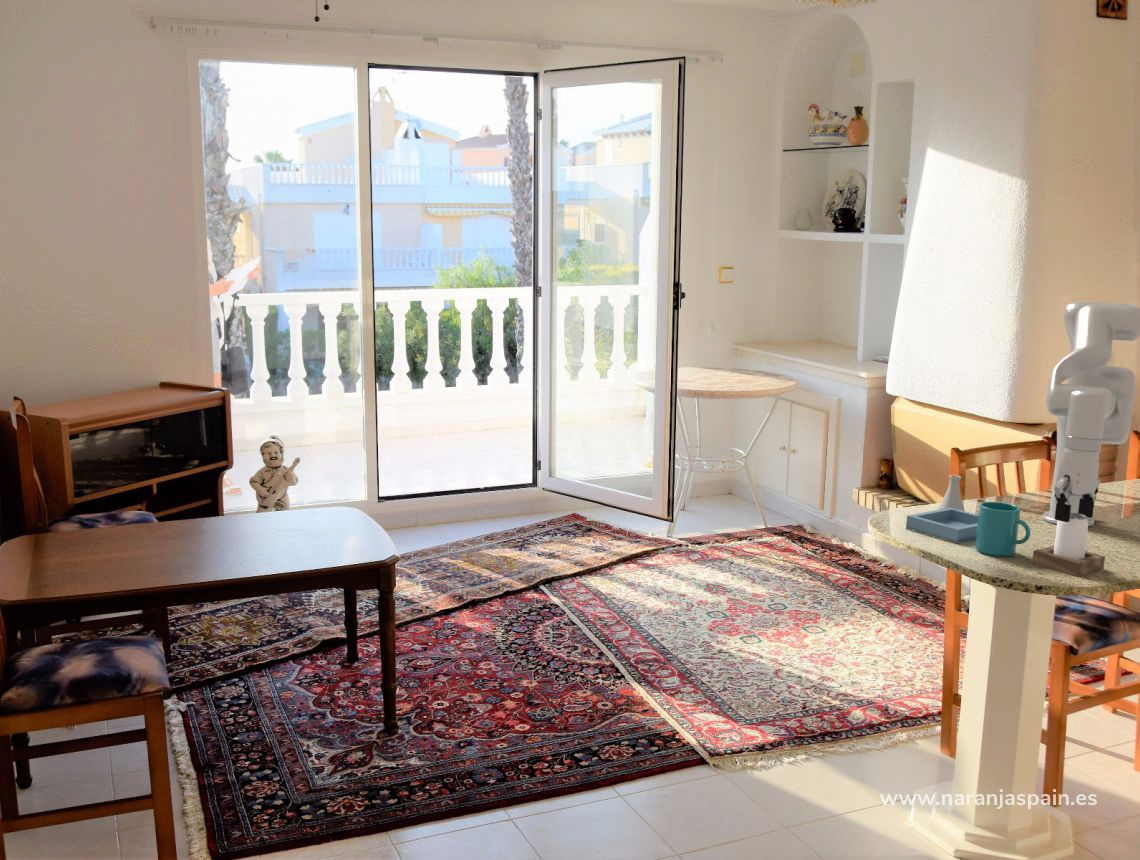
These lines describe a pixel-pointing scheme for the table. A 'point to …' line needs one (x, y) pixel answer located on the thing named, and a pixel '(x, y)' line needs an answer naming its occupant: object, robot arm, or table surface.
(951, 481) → the flask
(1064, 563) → the holder
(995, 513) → the cup
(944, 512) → the tray
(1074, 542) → the can
